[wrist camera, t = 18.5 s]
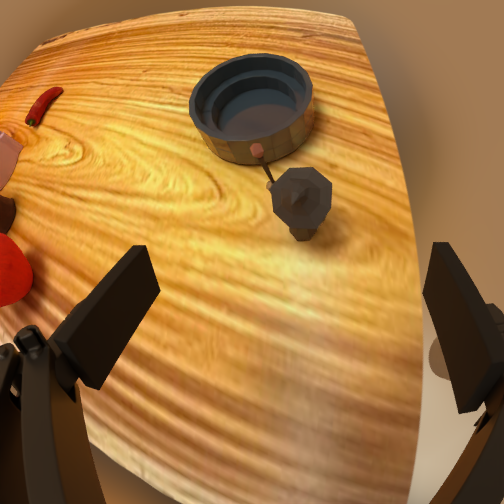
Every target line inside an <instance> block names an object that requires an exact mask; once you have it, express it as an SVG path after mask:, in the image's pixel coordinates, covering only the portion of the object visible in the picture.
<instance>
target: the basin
mask: <svg viewBox="0 0 504 504" xmlns="http://www.w3.org/2000/svg"><path fill="white" fill-rule="evenodd" d="M189 114H190V117H191V119H192V120H193V122H194V124H195V126H196V128H197V129H198V131H199V132H200V134H201V136H202V137H203V139H204V141H205V142H206V144H207V145H208V147H209V149H210V150H211V151H213V152H214V153H215V154H216V155H218V156H219V157H220V158H222V159H225V160H228V161H231V162H234V163H237V164H254V165H257V164H261V163H260V162H259V160H258V158H257V157H254V156H253V155H252V152H251V150H250V147H251V146H252V145H253V143H260V144H261V146H262V148H263V150H264V152H263V157H264V159H265V161H266V162H271V161H275V160H278V159H280V158H281V157H283V156H285V155H287V154H289V153H291V152H293V151H295V150H296V149H297V148H298V147H299V146H300V145H301V144H302V143H303V142H304V141H305V140H306V139H307V137H308V135H309V133H310V131H311V129H312V127H313V125H314V114H315V110H314V96H313V85H312V82H311V80H310V77H309V75H308V73H307V72H306V71H305V70H304V69H303V68H302V67H301V66H300V65H299V64H298V63H297V62H294V61H292V60H290V59H288V58H286V57H284V56H279V55H274V54H268V53H259V54H247V55H243V56H239V57H235V58H232V59H230V60H228V61H225V62H223V63H221V64H219V65H217V66H216V67H214V68H213V69H212V70H210V71H209V72H208V73H206V74H205V75H204V76H203V77H202V78H201V79H200V81H199V82H198V83H197V85H196V86H195V87H194V89H193V92H192V94H191V97H190V100H189Z"/></svg>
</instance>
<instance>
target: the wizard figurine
mask: <svg viewBox="0 0 504 504" xmlns="http://www.w3.org/2000/svg"><path fill="white" fill-rule="evenodd" d="M250 150H251V152H252V155H253V156H254V157H257V158H258V160H259V162H260V163H261V165H262V167H263V168H264V170H265V172H266V174H267V175H268V177H269V179H270V181H269V182H267V187H266V188H267V189H268V190H269V191H270V193H271V194H272V203H273V212H274V213H275V214H276V215H277V216H278V217H279V218H280V219H281V220H282V221H283V222H284V223H286V224H287V225H288V226H289V230H290V233H291V234H292V235H293V236H294V237H295V239H296V240H297V241H302V240H310V239H311V238H312V236H313V235H314V234H315V232H316V231H317V229H318V227H319V226H321V225H322V223H323V222H324V220H325V217H326V215H327V213H328V212H329V210H330V209H331V199H332V183H331V182H330V181H329V180H328V179H326V178H325V177H324V176H323V175H322V174H320V173H319V172H318V171H317V170H315V169H314V168H313V167H304V168H289V169H288V170H287V171H286V172H285V173H284V174H283V175H282V176H281V177H280V178H279V179H278V180H277V181H274V179H273V177H272V175H271V172H270V170H269V168H268V166H267V163H266V161H265V159H264V157H263V152H264V150H263V148H262V146H261V144H260V143H253V145H252V146H251V147H250Z"/></svg>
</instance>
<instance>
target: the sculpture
mask: <svg viewBox="0 0 504 504" xmlns="http://www.w3.org/2000/svg"><path fill="white" fill-rule="evenodd" d="M15 213H16V210H15V204H14V200H13V199H12V198H11V199H9V198H6V197H4V196H1V195H0V233H3V234H6V233H7V231H8V230H9V228H10V226H11V224H12V222H13V219H14V217H15Z"/></svg>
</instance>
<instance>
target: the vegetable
mask: <svg viewBox="0 0 504 504" xmlns="http://www.w3.org/2000/svg"><path fill="white" fill-rule="evenodd" d="M62 91H63V88H61V87H53V88H51V89H49V90H47V91H46V92H44V93H43V94H42V95H41V96H40V97H39V98H38V99H37V101H36V102H35V103H34V105H33V106H32V107H31V109H30V111H29V113H28V115H27V116H26V119H25V123H26V124H27V125H30V127H31V126H36V125H37V124H38V123H39V122H40V119H41V117H42V115H43V113H44V112H45V109H46V107H47V106H48V104H49V103H50V102H51V101H52V100H53V99H54V98H55V97H57V96H58V95H59V94H60V93H61V92H62Z"/></svg>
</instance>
